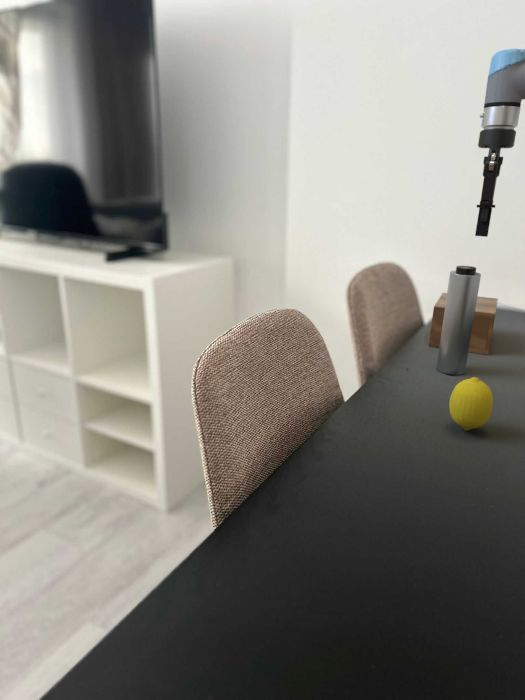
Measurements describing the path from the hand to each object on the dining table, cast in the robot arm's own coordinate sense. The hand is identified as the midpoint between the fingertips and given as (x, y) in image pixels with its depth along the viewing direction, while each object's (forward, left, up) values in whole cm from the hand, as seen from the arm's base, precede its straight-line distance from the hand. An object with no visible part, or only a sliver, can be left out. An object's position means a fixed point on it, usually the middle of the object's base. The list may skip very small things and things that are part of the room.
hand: (481, 235), depth 123 cm
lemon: (+46, +46, -21) cm, 68 cm away
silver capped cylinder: (+31, +27, -20) cm, 46 cm away
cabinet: (+16, +14, -20) cm, 29 cm away
